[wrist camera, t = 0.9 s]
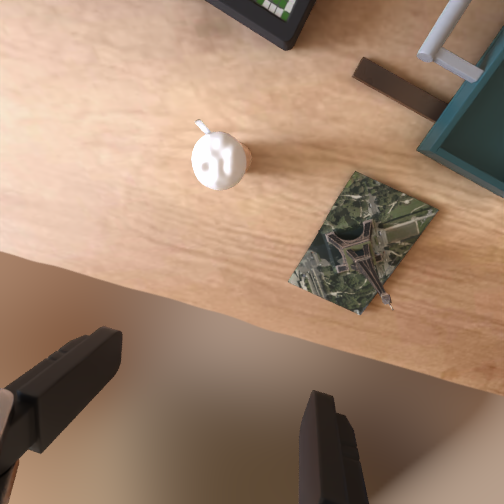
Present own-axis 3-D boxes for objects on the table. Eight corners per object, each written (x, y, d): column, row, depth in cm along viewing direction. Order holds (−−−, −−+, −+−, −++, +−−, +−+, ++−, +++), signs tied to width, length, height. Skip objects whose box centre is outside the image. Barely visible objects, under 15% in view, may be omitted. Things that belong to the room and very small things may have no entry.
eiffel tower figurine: (359, 314, 34) (398, 409, 22) (287, 281, 34) (285, 358, 21) (437, 209, 28) (549, 256, 16) (351, 168, 28) (397, 184, 16)
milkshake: (248, 121, 28) (226, 108, 19) (263, 172, 29) (249, 184, 20) (209, 136, 29) (169, 130, 20) (225, 184, 31) (196, 200, 21)
